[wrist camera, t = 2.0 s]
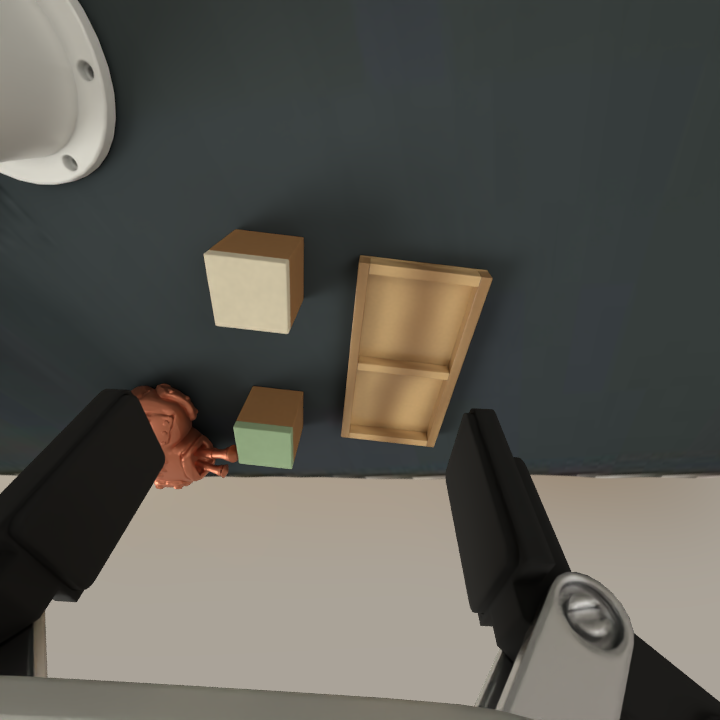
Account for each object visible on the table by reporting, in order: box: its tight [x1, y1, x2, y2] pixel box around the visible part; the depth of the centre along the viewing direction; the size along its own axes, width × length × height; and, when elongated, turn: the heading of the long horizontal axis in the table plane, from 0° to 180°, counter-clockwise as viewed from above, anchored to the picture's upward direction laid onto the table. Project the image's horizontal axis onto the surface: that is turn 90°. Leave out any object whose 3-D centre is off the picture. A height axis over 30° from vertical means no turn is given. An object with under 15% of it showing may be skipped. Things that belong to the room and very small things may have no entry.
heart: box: [131, 384, 239, 489], centre depth 35 cm, size 6×12×15 cm
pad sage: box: [233, 386, 303, 469], centre depth 33 cm, size 5×5×6 cm
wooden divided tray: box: [341, 255, 493, 447], centre depth 30 cm, size 10×18×2 cm, turn 174°
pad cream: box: [204, 229, 304, 334], centre depth 24 cm, size 5×5×6 cm
